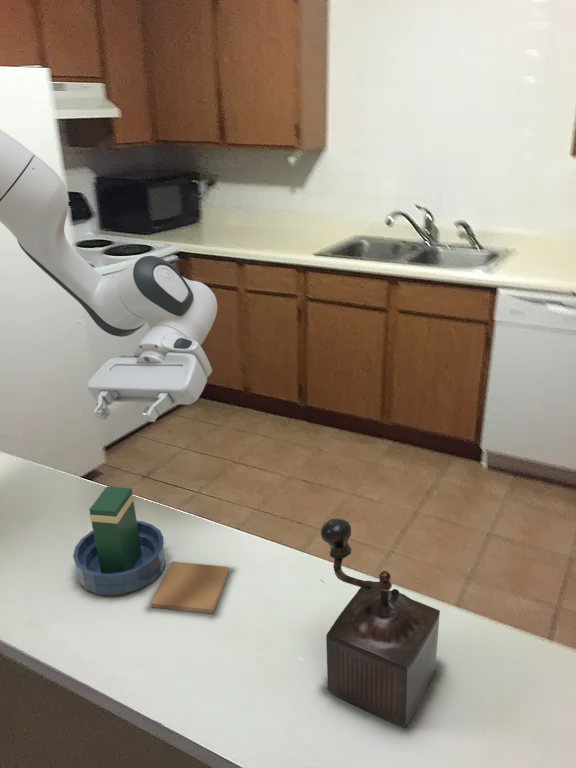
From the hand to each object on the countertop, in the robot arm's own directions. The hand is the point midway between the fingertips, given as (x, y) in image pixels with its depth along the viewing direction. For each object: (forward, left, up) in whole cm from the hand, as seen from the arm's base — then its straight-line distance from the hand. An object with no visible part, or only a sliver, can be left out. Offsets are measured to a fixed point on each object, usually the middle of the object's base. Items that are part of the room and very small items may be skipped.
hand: (122, 417), depth 102 cm
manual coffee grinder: (+39, -24, -21) cm, 50 cm away
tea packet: (+1, -10, -20) cm, 22 cm away
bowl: (+1, -10, -21) cm, 23 cm away
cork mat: (+13, -13, -21) cm, 28 cm away
